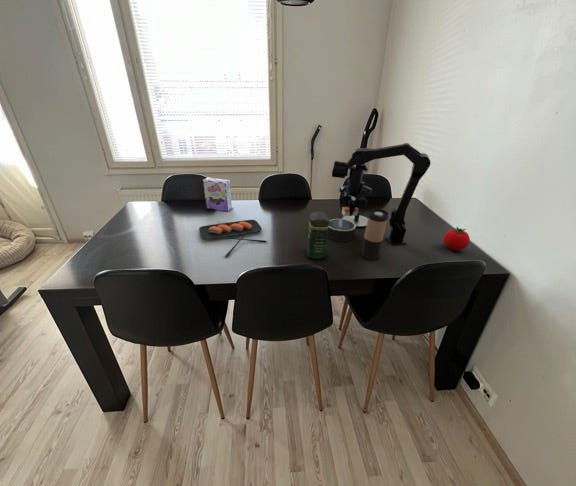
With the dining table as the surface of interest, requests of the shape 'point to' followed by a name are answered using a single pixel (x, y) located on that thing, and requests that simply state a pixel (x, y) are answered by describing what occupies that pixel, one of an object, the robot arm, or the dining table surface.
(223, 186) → the candy box
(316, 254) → the coffee jar
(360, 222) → the pan lid
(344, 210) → the sushi
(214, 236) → the sushi plate
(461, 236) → the tomato
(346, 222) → the pan
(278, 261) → the dining table surface
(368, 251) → the travel mug
